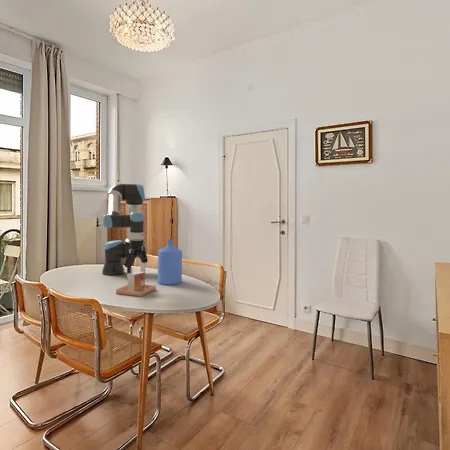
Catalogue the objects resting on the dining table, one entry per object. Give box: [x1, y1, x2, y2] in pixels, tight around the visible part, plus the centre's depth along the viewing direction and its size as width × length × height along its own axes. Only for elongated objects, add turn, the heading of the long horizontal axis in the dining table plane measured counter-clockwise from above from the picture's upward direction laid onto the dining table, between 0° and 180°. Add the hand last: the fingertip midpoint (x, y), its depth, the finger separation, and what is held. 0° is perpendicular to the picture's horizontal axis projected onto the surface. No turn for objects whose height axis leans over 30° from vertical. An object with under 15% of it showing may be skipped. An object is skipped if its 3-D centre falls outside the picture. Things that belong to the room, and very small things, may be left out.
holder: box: [115, 283, 157, 298], centre depth 190 cm, size 16×16×2 cm
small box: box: [127, 270, 146, 291], centre depth 189 cm, size 8×6×10 cm
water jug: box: [157, 238, 183, 286], centre depth 213 cm, size 16×16×28 cm
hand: (136, 276), depth 189 cm, fingers open, 13 cm apart
